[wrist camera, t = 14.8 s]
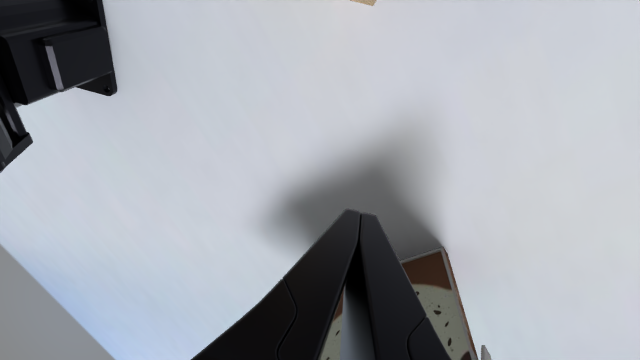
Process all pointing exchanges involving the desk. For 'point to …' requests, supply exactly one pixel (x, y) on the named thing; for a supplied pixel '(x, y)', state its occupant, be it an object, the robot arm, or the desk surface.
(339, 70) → the desk surface
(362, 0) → the bearing block
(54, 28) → the robot arm
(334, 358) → the food container
